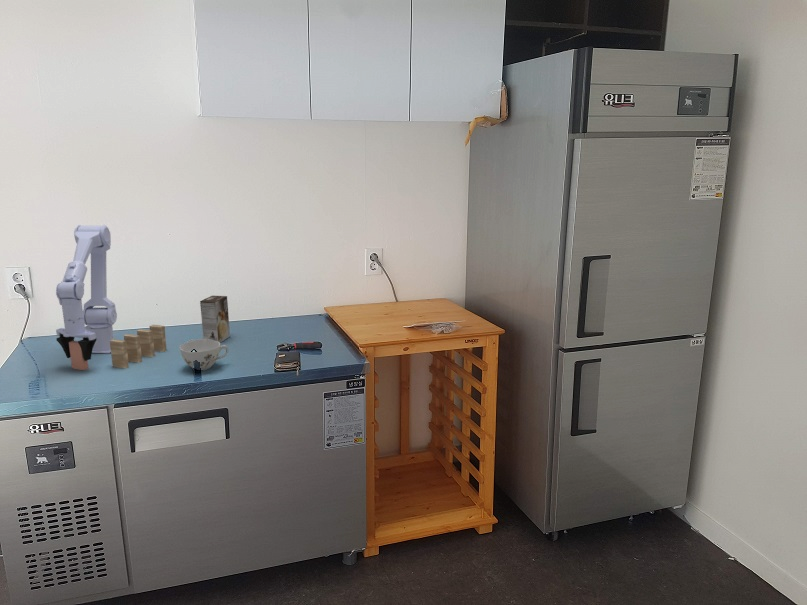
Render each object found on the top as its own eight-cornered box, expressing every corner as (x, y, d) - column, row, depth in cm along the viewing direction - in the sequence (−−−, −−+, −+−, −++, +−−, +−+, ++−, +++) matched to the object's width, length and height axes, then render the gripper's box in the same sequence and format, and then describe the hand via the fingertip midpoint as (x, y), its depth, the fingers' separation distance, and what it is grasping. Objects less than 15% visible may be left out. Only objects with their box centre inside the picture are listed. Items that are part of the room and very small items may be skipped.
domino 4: (163, 351, 219) (160, 327, 217) (151, 350, 221) (149, 325, 218) (166, 350, 221) (164, 326, 218) (155, 348, 222) (153, 324, 220)
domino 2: (138, 362, 208) (135, 337, 206) (126, 360, 210) (123, 335, 207) (142, 360, 210) (139, 335, 207) (130, 359, 211) (127, 333, 209)
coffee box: (215, 335, 238) (212, 294, 234) (230, 336, 236) (227, 295, 232) (202, 342, 229) (199, 300, 225) (218, 344, 228) (215, 301, 224)
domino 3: (151, 357, 213) (148, 332, 211) (139, 355, 215) (136, 330, 213) (154, 355, 215) (152, 330, 213) (143, 353, 217) (140, 329, 215)
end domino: (83, 370, 201) (80, 343, 199) (72, 368, 202) (68, 342, 200) (88, 368, 202) (85, 342, 200) (76, 366, 204) (73, 340, 202)
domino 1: (124, 368, 203) (121, 342, 200) (112, 366, 204) (109, 340, 202) (128, 366, 204) (125, 340, 202) (116, 364, 206) (113, 339, 204)
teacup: (183, 376, 196) (181, 352, 194) (179, 364, 207) (177, 341, 205) (232, 370, 202) (230, 346, 200) (226, 358, 213) (224, 336, 211)
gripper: (45, 319, 197) (51, 359, 200) (80, 323, 192) (86, 365, 196) (64, 313, 203) (69, 352, 207) (98, 318, 199) (103, 358, 202)
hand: (79, 358), depth 202 cm, fingers open, 7 cm apart
